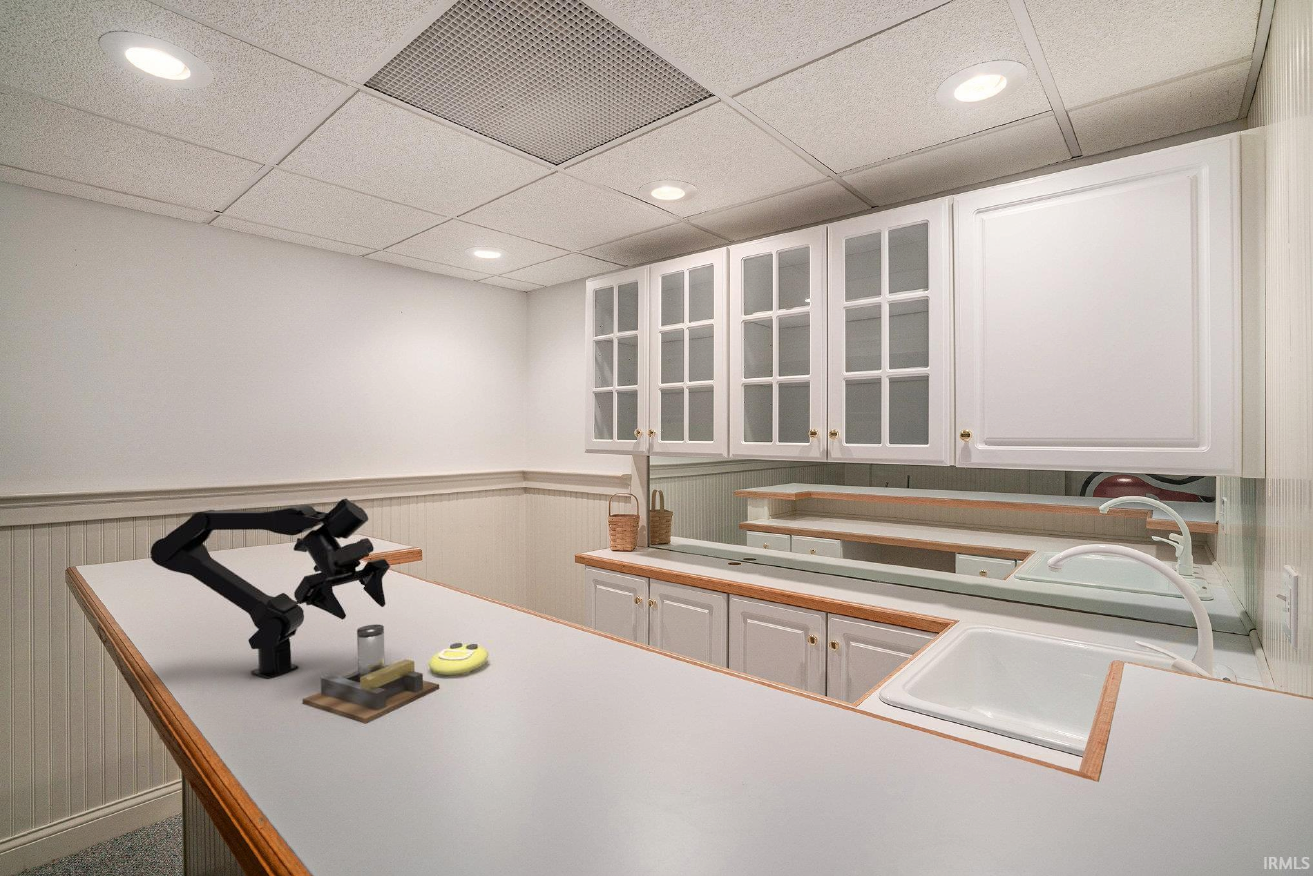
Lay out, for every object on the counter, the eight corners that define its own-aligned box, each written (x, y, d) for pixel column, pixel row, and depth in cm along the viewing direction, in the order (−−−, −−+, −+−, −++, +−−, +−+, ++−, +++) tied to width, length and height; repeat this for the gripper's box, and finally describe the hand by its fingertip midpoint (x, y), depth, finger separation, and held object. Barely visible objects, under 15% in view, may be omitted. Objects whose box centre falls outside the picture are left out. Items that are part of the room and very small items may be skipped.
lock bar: (360, 688, 112) (360, 677, 112) (406, 669, 121) (405, 659, 121) (369, 690, 111) (368, 679, 111) (414, 671, 120) (414, 661, 120)
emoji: (471, 664, 125) (497, 639, 136) (416, 661, 127) (446, 637, 139) (472, 683, 125) (498, 657, 137) (417, 680, 127) (447, 655, 139)
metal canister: (353, 696, 116) (352, 632, 116) (366, 686, 121) (364, 624, 121) (378, 696, 116) (376, 632, 116) (389, 686, 121) (388, 624, 120)
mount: (302, 703, 116) (301, 682, 116) (377, 673, 130) (377, 654, 130) (365, 723, 107) (365, 701, 107) (439, 688, 121) (438, 669, 121)
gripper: (301, 535, 121) (341, 598, 116) (382, 521, 137) (420, 575, 132) (277, 572, 124) (315, 635, 120) (359, 554, 141) (395, 609, 136)
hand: (364, 611), depth 127 cm, fingers open, 9 cm apart
